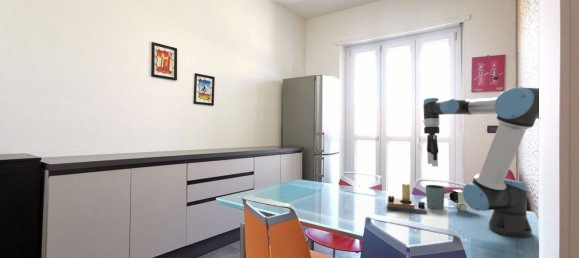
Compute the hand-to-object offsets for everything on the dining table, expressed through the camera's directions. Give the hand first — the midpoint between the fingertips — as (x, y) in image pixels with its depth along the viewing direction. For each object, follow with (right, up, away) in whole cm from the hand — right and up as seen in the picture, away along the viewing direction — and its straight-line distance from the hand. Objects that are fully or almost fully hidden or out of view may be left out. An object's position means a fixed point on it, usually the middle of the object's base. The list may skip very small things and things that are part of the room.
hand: (432, 165), depth 154 cm
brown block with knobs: (-12, -26, +6) cm, 29 cm away
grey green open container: (+6, -26, +10) cm, 28 cm away
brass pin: (-12, -26, +6) cm, 29 cm away
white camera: (+18, -26, +3) cm, 32 cm away
